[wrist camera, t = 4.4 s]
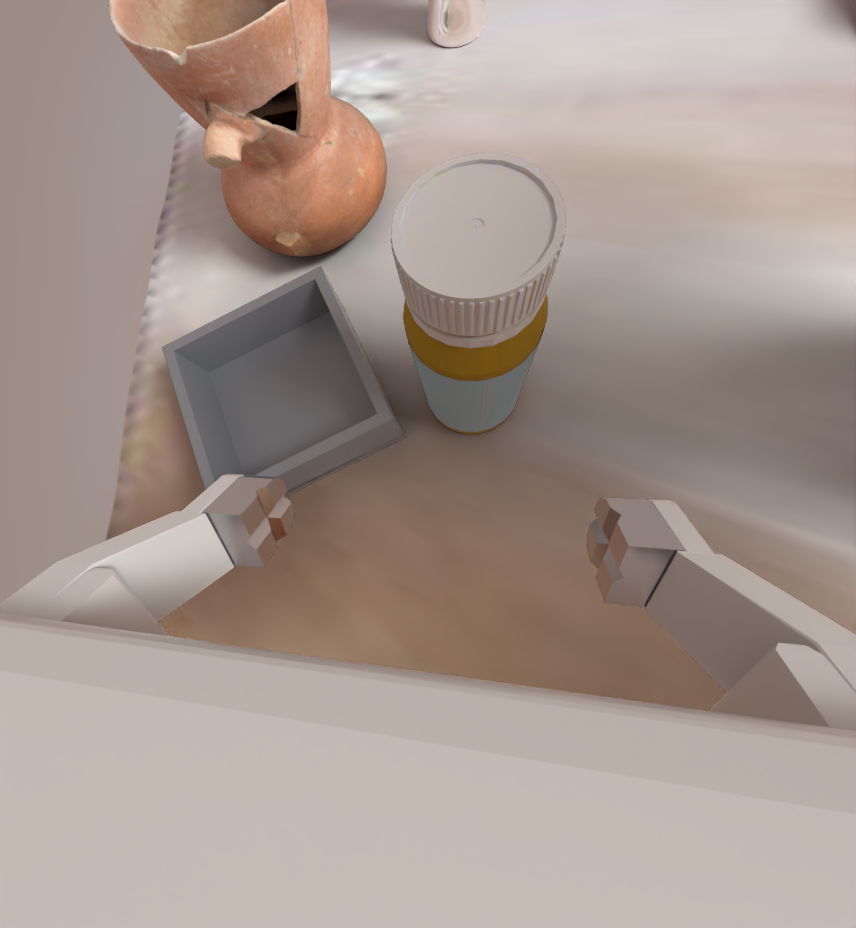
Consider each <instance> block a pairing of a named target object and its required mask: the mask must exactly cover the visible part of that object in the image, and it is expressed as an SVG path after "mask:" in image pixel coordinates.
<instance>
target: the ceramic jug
mask: <svg viewBox="0 0 856 928" xmlns="http://www.w3.org/2000/svg"><path fill="white" fill-rule="evenodd" d="M109 7H110V18H111V21H112V24H113V26H114V28H115V30H116V31H117V33H118V35H119V36H120V38H121V39H122V40H123V42H124V44H125V45H126V46H127V48H128V49H129V50H130V52H131V53H132V54H133V55H134V57H135V58H136V59H137V60H138V61H139V63H140V64H141V65H142V66H143V68H145V70H146V71H147V72H148V73H149V74H150V76H151V77H152V78H153V79H154V80H155V81H156V82H157V83H158V84H159V85H160V86H161V87H162V88H163V89H164V90H165V91H166V92H167V93H168V94H169V95H170V96H171V98H173V99H174V101H175V102H177V104H178V105H179V106H181V107H182V108H183V109H184V110H185V111H186V112H187V113H188V114H189V115H190V116H191V117H192V118H193V119H194V120H195V121H197V122H198V123H199V124H200V125H201V126H202V127H203V128H205V129H206V132H205V136H204V146H203V148H204V156H205V159H206V161H207V162H208V163H209V164H210V165H212V166H213V167H217V168H219V169H222V190H223V195H224V199H225V202H226V205H227V207H228V210H229V212H230V214H231V216H232V218H233V219H234V221H235V222H236V224H237V225H238V226H239V228H240V229H241V230H242V231H243V232H244V233H245V234H246V235H247V236H248V237H250V238H251V239H252V240H253V241H255V242H256V243H258V244H259V245H261V246H263V247H264V248H267V249H269V250H271V251H274V252H277V253H280V254H284V255H289V256H312V255H317V254H321V253H325V252H328V251H330V250H333V249H335V248H337V247H339V246H341V245H342V244H344V243H346V242H347V241H349V240H350V239H352V238H353V237H354V236H355V235H357V234H358V233H359V232H360V231H361V230H362V229H363V228H364V227H365V226H366V225H367V223H368V222H369V221H370V220H371V218H372V217H373V215H374V214H375V212H376V210H377V208H378V206H379V204H380V202H381V199H382V197H383V193H384V189H385V184H386V172H387V166H386V156H385V151H384V147H383V144H382V141H381V139H380V137H379V135H378V133H377V131H376V129H375V128H374V126H373V125H372V124H371V122H370V121H369V120H368V119H367V118H366V117H365V116H364V115H363V114H362V113H361V112H360V111H359V110H358V109H356V108H355V107H353V106H352V105H351V104H349V103H347V102H345V101H343V100H340V99H337V98H335V97H332V96H331V71H330V49H329V31H328V15H327V4H326V0H109Z"/></svg>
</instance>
